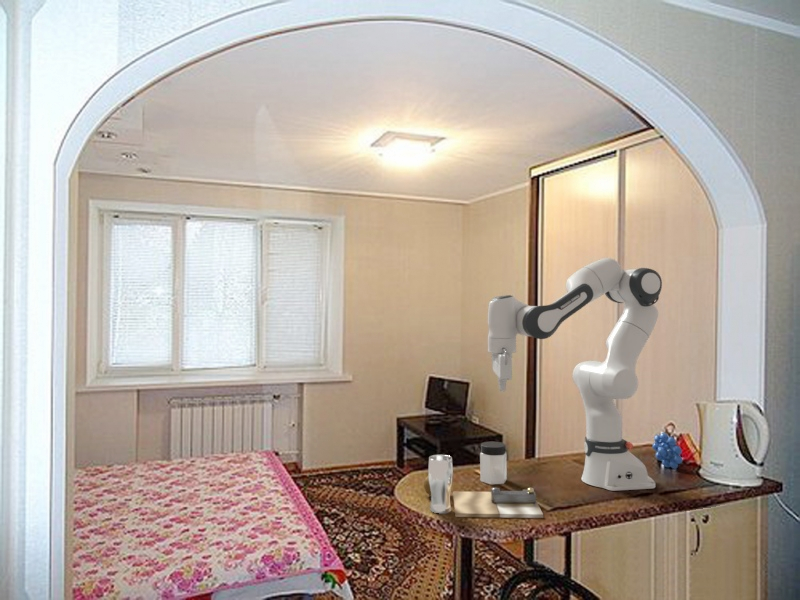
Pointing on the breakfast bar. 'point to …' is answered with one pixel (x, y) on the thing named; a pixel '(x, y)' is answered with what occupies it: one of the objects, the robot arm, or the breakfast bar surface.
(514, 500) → the bar
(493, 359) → the robot arm
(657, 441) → the grapes
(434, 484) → the beer glass
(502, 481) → the jar
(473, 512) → the door board
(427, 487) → the onion
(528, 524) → the breakfast bar surface
